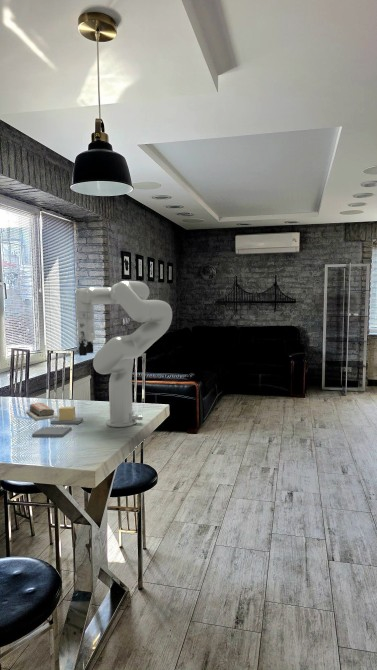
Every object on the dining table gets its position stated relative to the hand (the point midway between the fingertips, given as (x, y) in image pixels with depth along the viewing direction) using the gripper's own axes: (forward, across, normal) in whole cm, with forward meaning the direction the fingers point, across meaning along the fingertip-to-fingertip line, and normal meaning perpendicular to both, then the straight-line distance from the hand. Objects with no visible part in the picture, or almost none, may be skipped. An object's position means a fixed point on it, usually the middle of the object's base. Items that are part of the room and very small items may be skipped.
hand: (86, 354), depth 197 cm
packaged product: (+29, +2, +23) cm, 37 cm away
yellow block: (+28, -10, +6) cm, 31 cm away
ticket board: (+28, -27, +6) cm, 40 cm away
